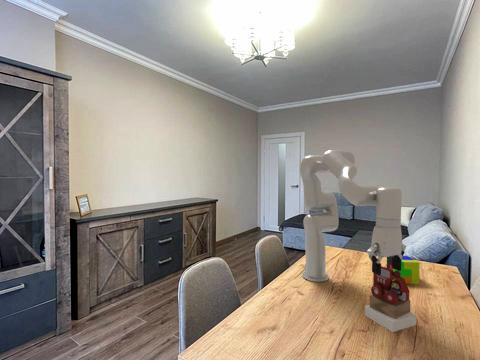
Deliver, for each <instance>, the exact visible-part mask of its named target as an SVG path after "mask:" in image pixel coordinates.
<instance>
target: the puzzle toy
mask: <svg viewBox="0 0 480 360" xmlns="http://www.w3.org/2000/svg"><path fill="white" fill-rule="evenodd" d="M392 257H394V256H390V257H386V268H389V269H391V270H393V271H398V270H395V269H393V268H392ZM399 272H400V273H401V276H400V277H403V278H404V279H405V282H406V284H407V285H408V284H413V285H420V262H419V261H418V260H416V259H414V258H412V257H411V256H408V255H403V259H402V261H401V271H399ZM393 281H394V280H393Z"/></svg>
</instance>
